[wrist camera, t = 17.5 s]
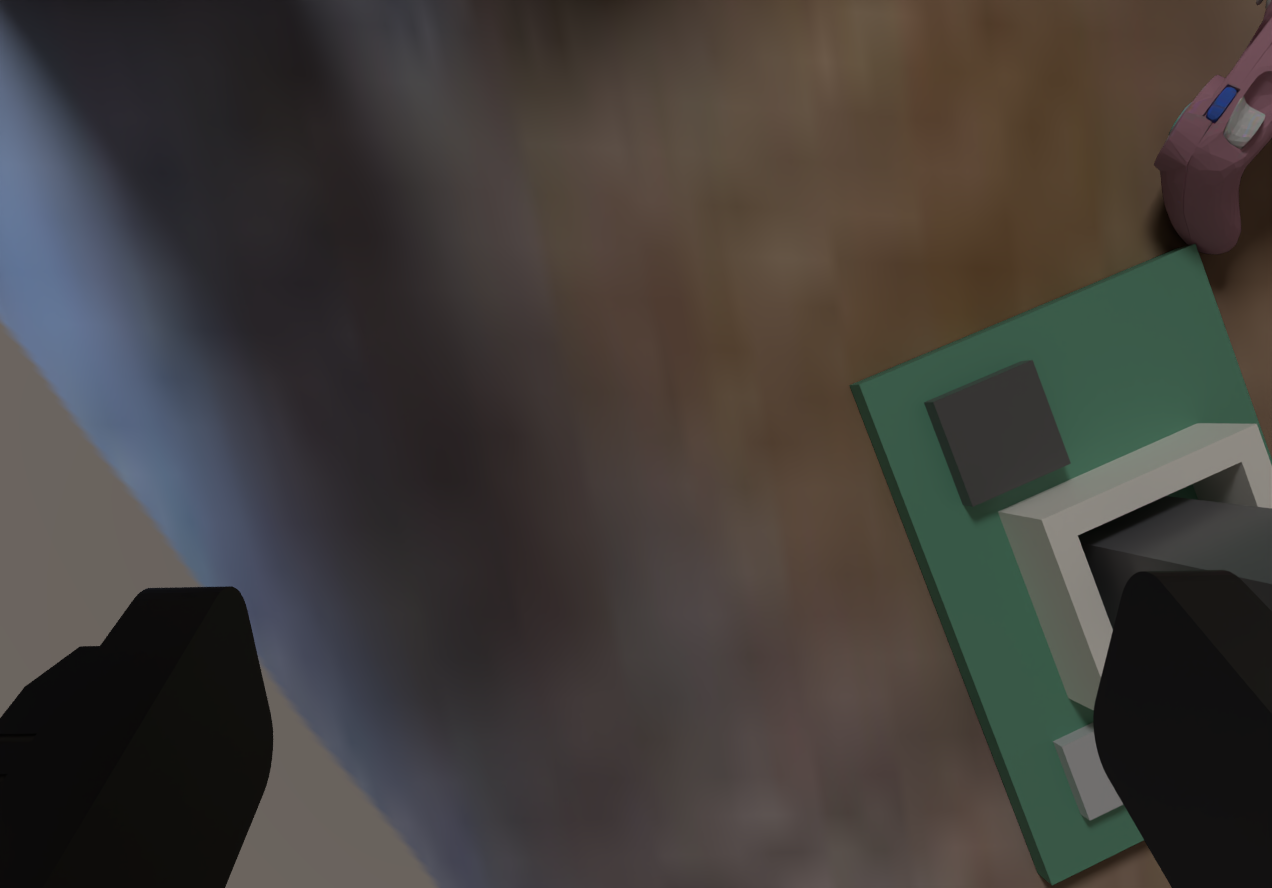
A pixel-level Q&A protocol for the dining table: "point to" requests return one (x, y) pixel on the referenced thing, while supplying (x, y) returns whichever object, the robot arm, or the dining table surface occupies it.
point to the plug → (1181, 545)
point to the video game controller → (1218, 147)
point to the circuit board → (1059, 509)
